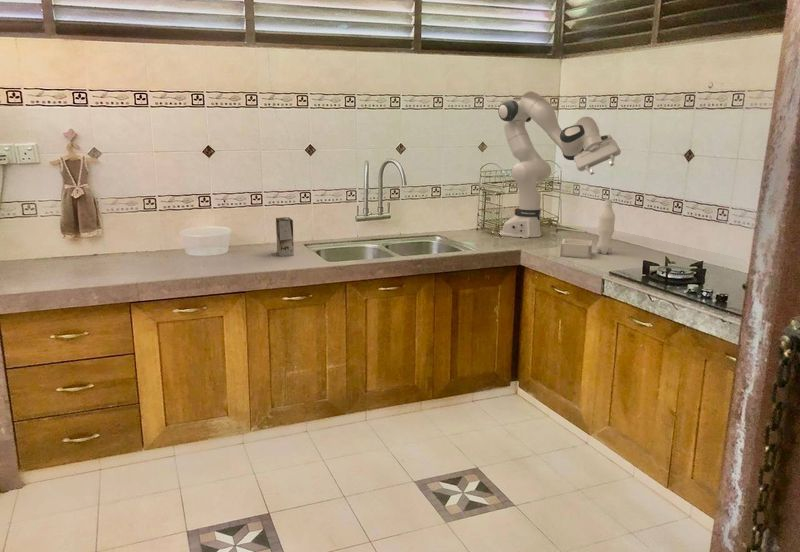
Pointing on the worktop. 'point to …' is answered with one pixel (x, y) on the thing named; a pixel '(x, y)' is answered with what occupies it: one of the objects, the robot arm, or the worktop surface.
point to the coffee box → (284, 236)
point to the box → (576, 248)
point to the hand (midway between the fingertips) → (602, 169)
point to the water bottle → (606, 228)
